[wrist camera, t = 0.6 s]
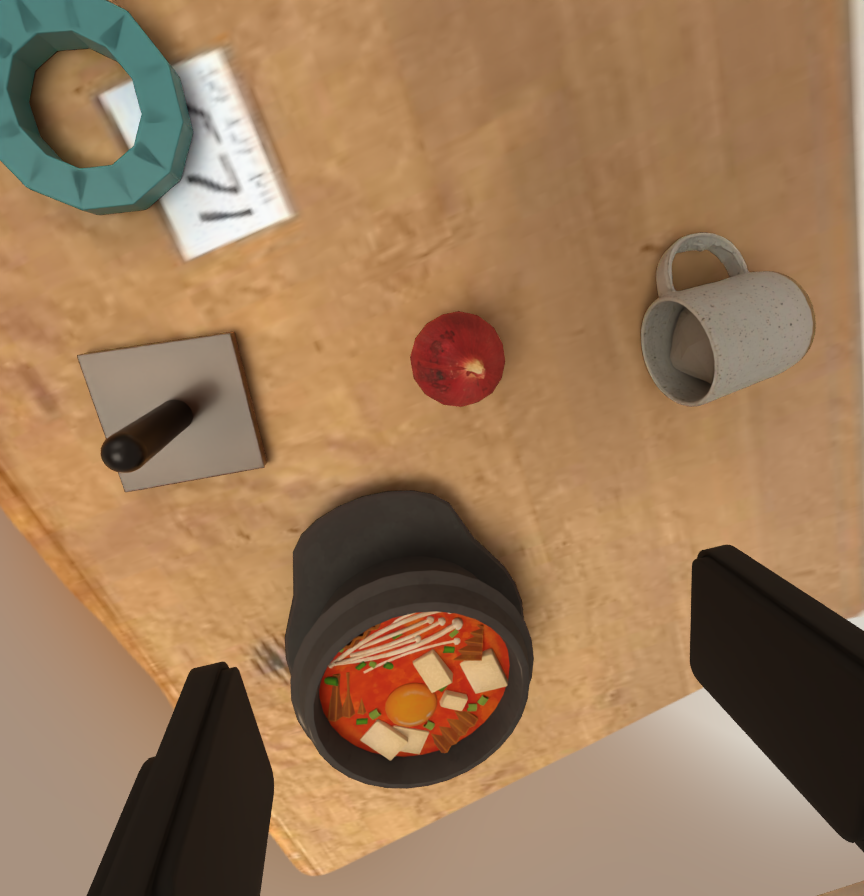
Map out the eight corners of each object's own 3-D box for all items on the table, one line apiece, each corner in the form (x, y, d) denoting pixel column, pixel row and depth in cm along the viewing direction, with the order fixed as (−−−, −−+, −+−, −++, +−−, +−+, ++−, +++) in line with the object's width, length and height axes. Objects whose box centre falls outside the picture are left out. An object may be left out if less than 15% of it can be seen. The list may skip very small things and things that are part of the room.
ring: (-44, 11, 26) (-75, -11, 24) (160, -3, 27) (146, -25, 25) (31, 223, 29) (9, 218, 27) (210, 202, 30) (202, 196, 28)
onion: (413, 402, 36) (432, 431, 28) (396, 319, 34) (412, 327, 26) (492, 384, 36) (531, 408, 29) (479, 302, 34) (518, 305, 27)
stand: (85, 352, 31) (-29, 379, 22) (234, 331, 32) (188, 347, 23) (131, 486, 34) (49, 561, 24) (267, 462, 35) (239, 525, 26)
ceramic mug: (744, 362, 39) (835, 376, 32) (647, 397, 39) (718, 419, 31) (729, 220, 36) (827, 199, 29) (623, 255, 35) (696, 242, 28)
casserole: (235, 524, 36) (205, 589, 28) (481, 450, 38) (519, 492, 30) (341, 770, 44) (341, 875, 36) (540, 701, 46) (582, 786, 38)
